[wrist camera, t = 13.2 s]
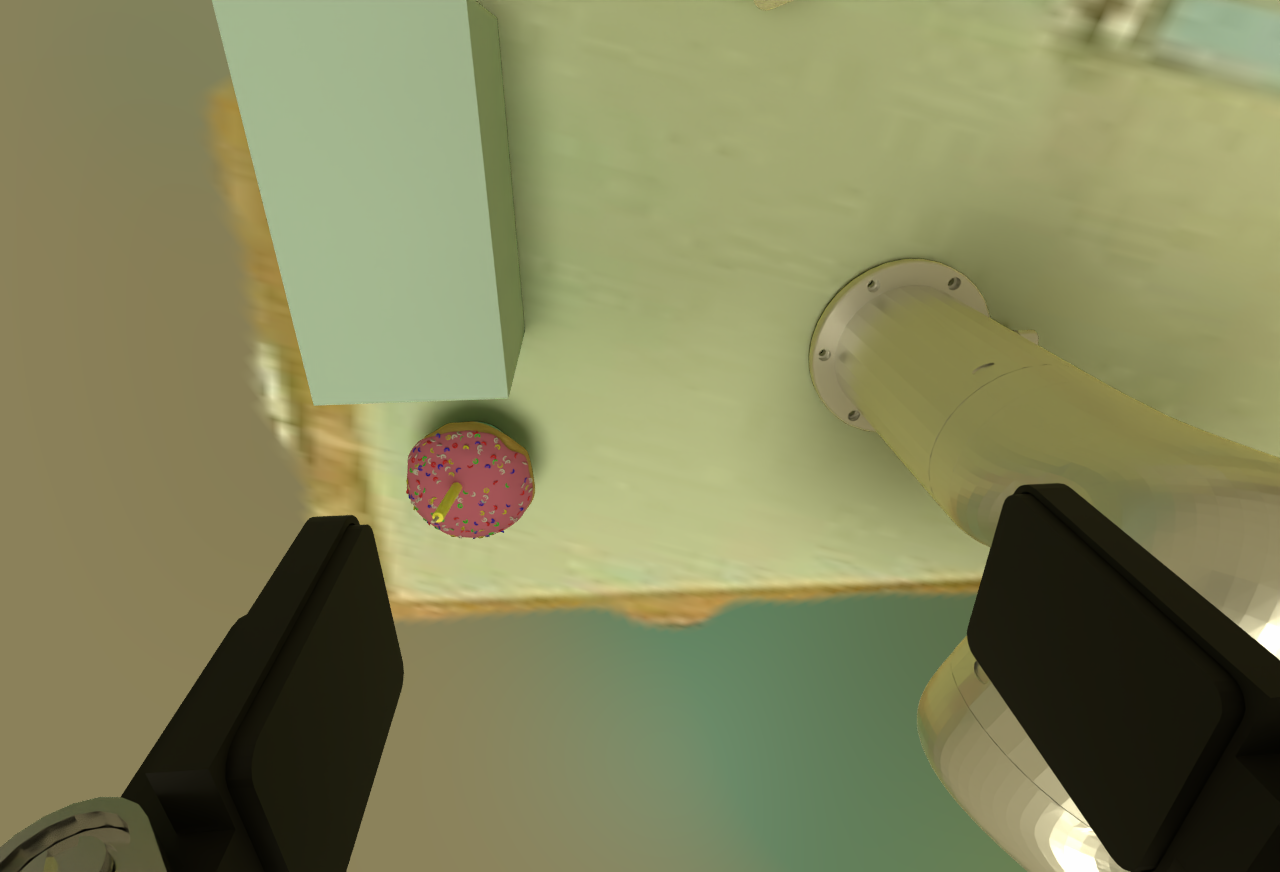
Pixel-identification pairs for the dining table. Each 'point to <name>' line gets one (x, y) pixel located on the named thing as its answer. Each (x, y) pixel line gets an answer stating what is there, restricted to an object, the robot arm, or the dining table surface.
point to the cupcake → (470, 479)
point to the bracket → (770, 3)
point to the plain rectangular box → (384, 191)
